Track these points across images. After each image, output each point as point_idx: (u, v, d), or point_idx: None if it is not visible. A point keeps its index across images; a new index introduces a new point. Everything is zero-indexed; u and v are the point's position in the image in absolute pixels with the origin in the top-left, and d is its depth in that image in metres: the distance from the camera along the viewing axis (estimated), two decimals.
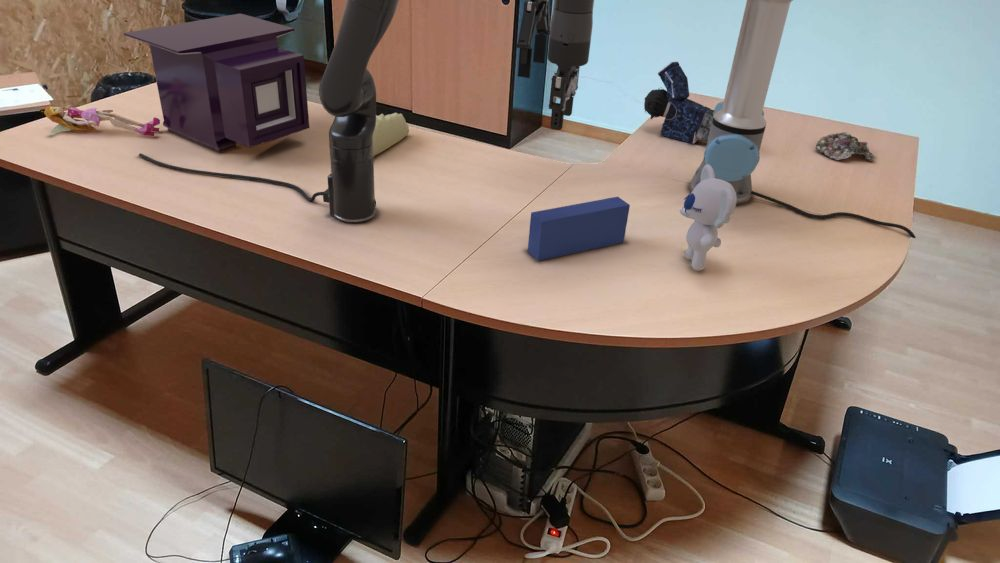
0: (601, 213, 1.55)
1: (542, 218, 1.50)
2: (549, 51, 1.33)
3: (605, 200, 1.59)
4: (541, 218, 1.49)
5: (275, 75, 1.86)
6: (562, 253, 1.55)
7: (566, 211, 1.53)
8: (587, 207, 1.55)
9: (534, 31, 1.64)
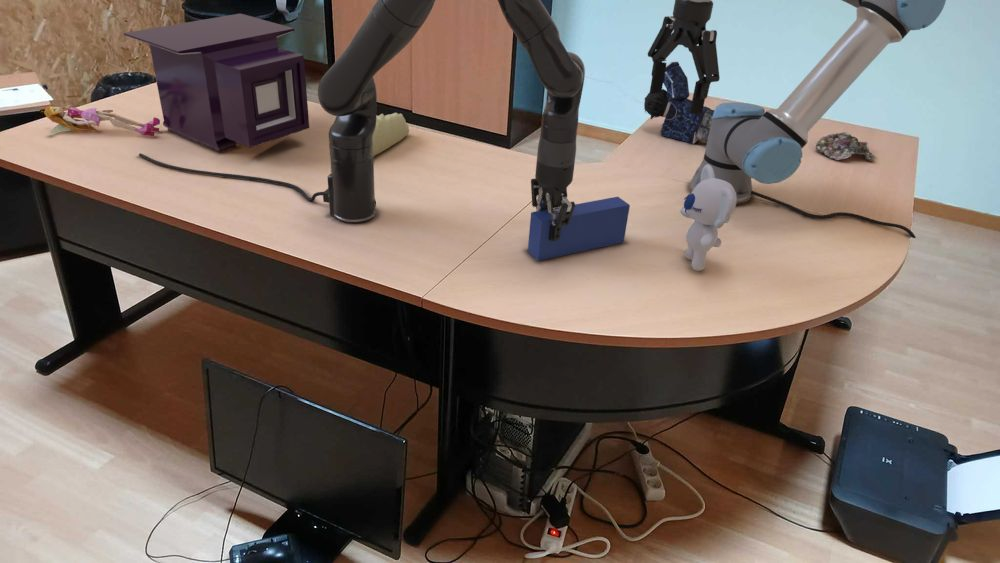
0: (601, 213, 1.55)
1: (542, 218, 1.49)
2: (546, 177, 1.43)
3: (605, 200, 1.59)
4: (541, 218, 1.49)
5: (275, 75, 1.86)
6: (562, 253, 1.55)
7: None
8: (587, 207, 1.55)
9: None
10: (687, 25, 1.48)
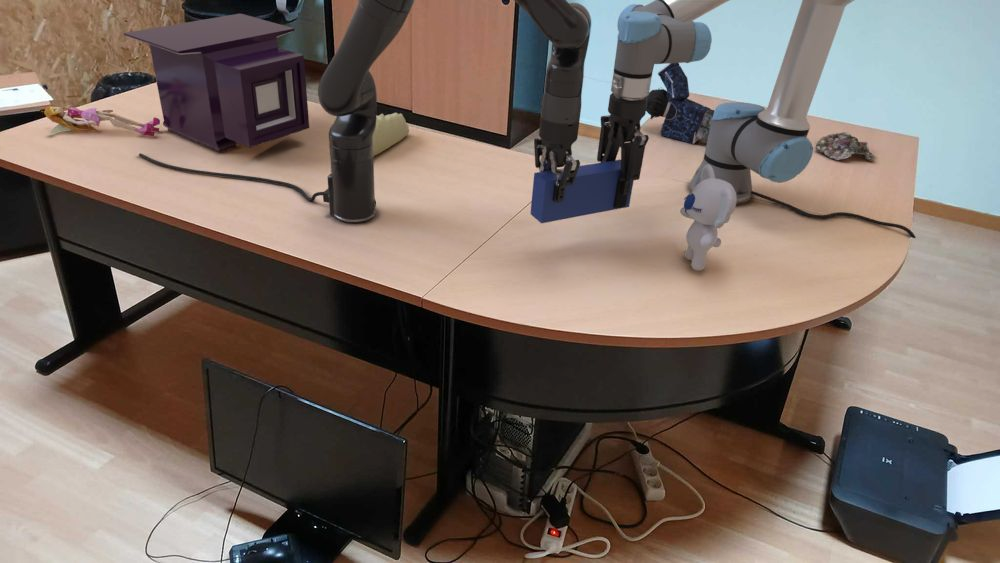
0: (606, 174, 1.50)
1: (546, 178, 1.45)
2: (550, 134, 1.39)
3: (610, 162, 1.54)
4: (545, 178, 1.45)
5: (275, 75, 1.86)
6: (566, 216, 1.51)
7: None
8: (591, 169, 1.50)
9: None
10: (622, 121, 1.47)
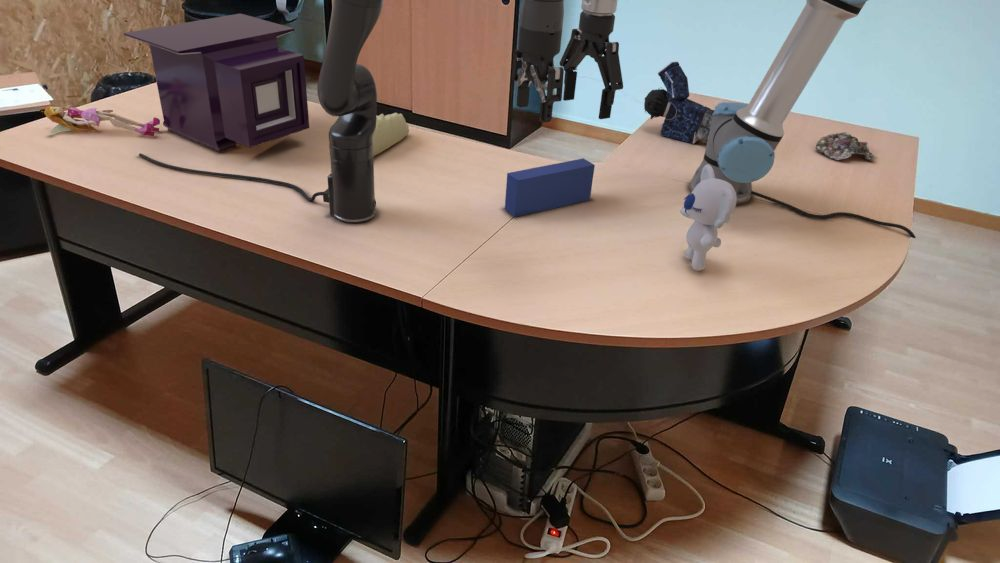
0: (569, 172, 1.72)
1: (517, 177, 1.66)
2: (530, 44, 1.27)
3: (572, 161, 1.76)
4: (517, 177, 1.66)
5: (275, 75, 1.86)
6: (536, 210, 1.72)
7: (539, 171, 1.70)
8: (556, 168, 1.72)
9: None
10: (592, 37, 1.59)
